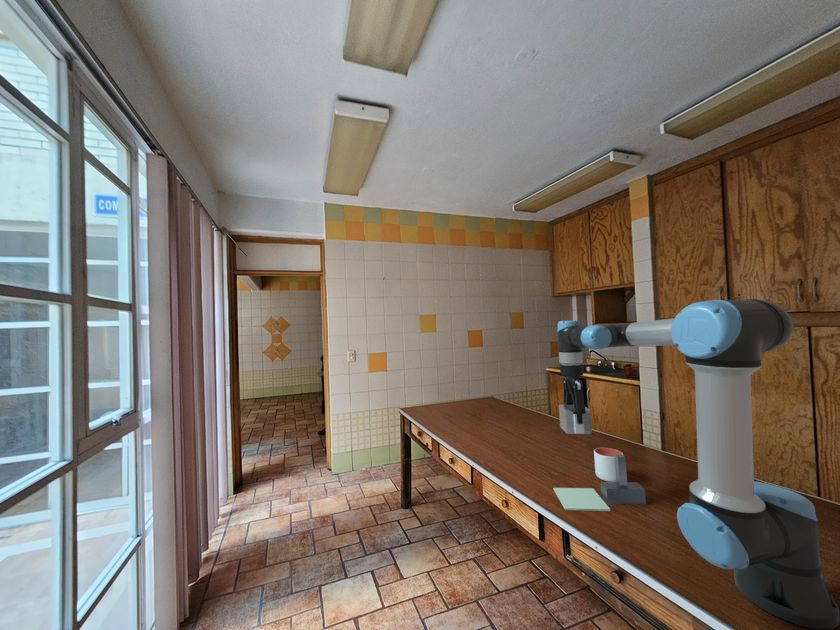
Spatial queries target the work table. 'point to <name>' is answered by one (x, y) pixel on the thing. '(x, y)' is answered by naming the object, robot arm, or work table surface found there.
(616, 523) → the work table surface
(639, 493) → the grey block
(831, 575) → the work table surface
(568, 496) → the mat
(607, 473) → the cup
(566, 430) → the collar
